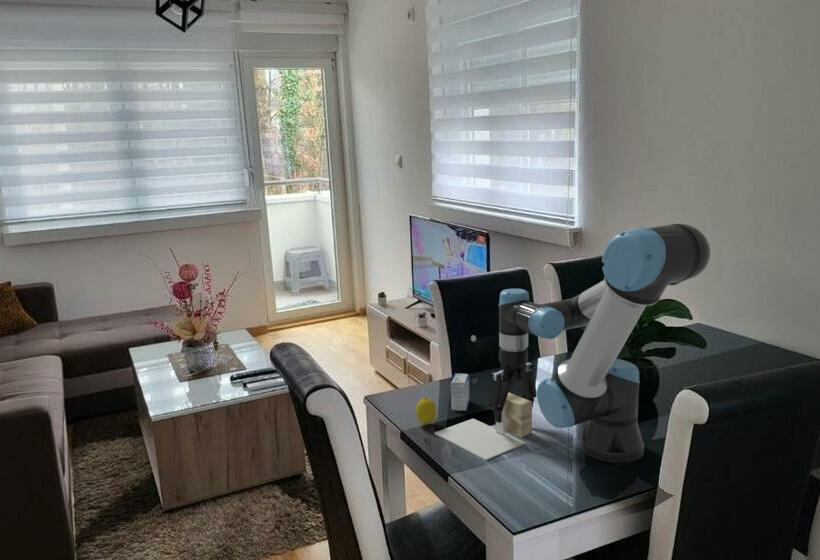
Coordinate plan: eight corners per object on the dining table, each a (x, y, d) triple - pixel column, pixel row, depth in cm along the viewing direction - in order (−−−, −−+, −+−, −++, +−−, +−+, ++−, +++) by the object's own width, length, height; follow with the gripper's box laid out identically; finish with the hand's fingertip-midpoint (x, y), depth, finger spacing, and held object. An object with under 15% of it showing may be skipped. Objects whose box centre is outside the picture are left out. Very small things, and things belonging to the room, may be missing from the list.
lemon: (413, 422, 185) (412, 395, 184) (431, 419, 187) (431, 392, 186) (420, 430, 180) (419, 402, 179) (439, 426, 182) (438, 399, 181)
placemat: (525, 444, 170) (525, 442, 170) (485, 460, 162) (485, 459, 162) (473, 419, 186) (473, 418, 186) (434, 433, 178) (434, 432, 178)
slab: (531, 433, 176) (531, 401, 175) (521, 437, 174) (521, 405, 172) (507, 422, 184) (507, 391, 182) (497, 426, 181) (496, 395, 179)
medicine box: (466, 411, 192) (465, 383, 190) (451, 410, 193) (450, 382, 191) (469, 400, 200) (469, 373, 198) (454, 400, 200) (454, 373, 199)
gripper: (530, 336, 183) (529, 413, 188) (473, 352, 171) (473, 434, 175) (551, 342, 177) (549, 422, 182) (494, 359, 165) (493, 444, 169)
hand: (512, 428), depth 178 cm, fingers open, 8 cm apart
